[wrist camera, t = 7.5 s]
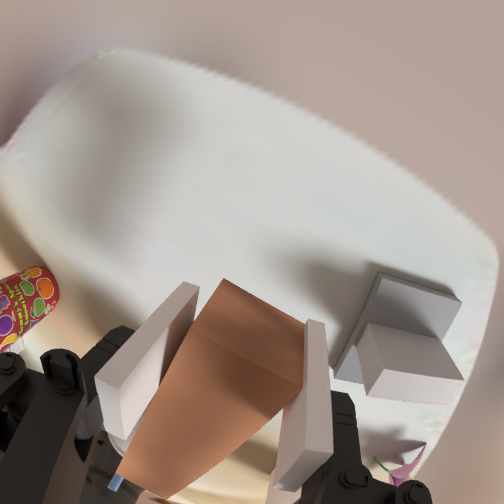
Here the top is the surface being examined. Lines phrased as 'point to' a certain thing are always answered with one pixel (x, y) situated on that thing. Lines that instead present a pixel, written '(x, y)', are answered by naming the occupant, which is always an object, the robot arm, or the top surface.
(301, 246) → the top surface
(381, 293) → the ridge stand
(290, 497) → the cup
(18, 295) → the smoothie
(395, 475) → the lily
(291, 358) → the batten
